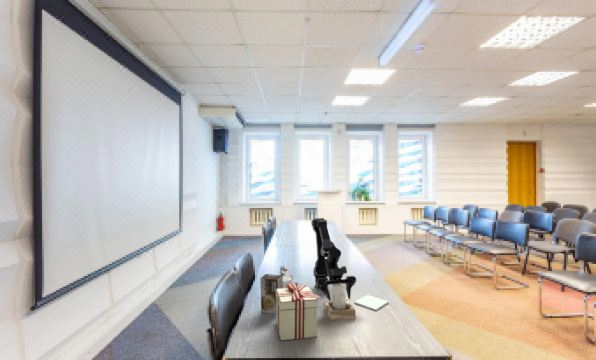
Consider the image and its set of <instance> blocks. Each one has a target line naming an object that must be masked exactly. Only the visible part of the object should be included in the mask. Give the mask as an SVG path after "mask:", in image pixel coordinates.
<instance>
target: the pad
mask: <svg viewBox="0 0 596 360" xmlns="http://www.w3.org/2000/svg"><path fill="white" fill-rule="evenodd" d="M353 303H354V305H357V306H360V307H362V308H363V307H364V308H366V309H369V310H371V311H374V312H376V311H378V310H380V309H381V308H383V307H384V306H386V305H387V304H389V301H388V300H385V299H381V298H379V297H375V296H373V295H369V294H366V295H365V296H363V297H361V298H359V299H357V300H355V301H354V302H353Z"/></svg>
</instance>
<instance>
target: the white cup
mask: <svg viewBox="0 0 596 360" xmlns="http://www.w3.org/2000/svg"><path fill="white" fill-rule="evenodd" d="M292 281H293V276H292V277H290V276H282V285H283V288H287V287H288V286H287V284H292Z"/></svg>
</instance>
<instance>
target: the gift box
mask: <svg viewBox="0 0 596 360" xmlns="http://www.w3.org/2000/svg"><path fill="white" fill-rule="evenodd" d="M287 286H288V287H287V288H282V289H276V298H277V299H276V318H275V319H276V322H275V323H276V329H277V331H278V334H279V338H280V340H281V341H288V340H291V341H292V340H298V339H307V338H315V337H317V331H318V330H317V329H318V328H317V327H318V326H317V325H318V324H317V322H318V320H317V319H318V318H317V316H318V315H317V314H318V312H317V310H318V306H319V305H318V299H322V298H323V296H319V295H317V294H315V293H314V292H313V291H312V289H311V288H310V287H309V286H307V285H296V284H295V283H293V284H287Z"/></svg>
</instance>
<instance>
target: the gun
mask: <svg viewBox="0 0 596 360" xmlns="http://www.w3.org/2000/svg"><path fill="white" fill-rule="evenodd" d="M279 270H280V271H279V273H280V275H282V276H290V277H292V278H293V275H292V273H291V272H290V270H289V269H288V268H286V267H285V265H280V268H279ZM293 283H295V284H296V285H297V286H299V282H298V281H297V280H296V281H294V280H292V284H293Z"/></svg>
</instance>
